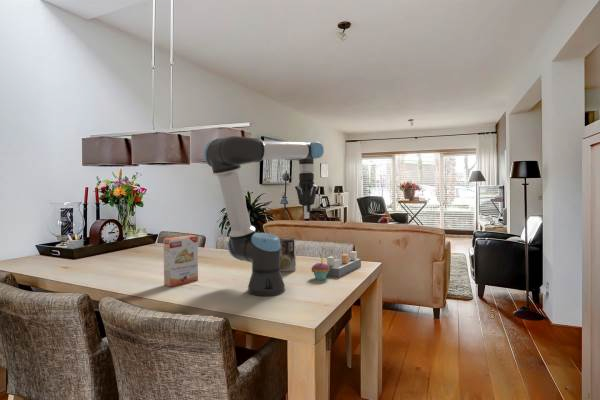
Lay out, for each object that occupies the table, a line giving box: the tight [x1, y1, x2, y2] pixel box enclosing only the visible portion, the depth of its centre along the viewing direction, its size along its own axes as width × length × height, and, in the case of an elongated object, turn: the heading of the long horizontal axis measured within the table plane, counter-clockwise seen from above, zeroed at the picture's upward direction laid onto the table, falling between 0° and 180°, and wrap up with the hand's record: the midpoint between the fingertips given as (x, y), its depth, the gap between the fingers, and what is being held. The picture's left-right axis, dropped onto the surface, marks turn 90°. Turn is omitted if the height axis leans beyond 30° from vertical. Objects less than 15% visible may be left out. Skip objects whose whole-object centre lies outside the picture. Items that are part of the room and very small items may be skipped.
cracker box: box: [163, 234, 199, 288], centre depth 157 cm, size 14×6×21 cm, turn 139°
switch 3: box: [349, 250, 358, 260], centre depth 184 cm, size 3×2×4 cm
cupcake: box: [311, 252, 330, 281], centre depth 163 cm, size 9×8×12 cm
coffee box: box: [279, 237, 297, 272], centre depth 179 cm, size 9×6×16 cm
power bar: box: [326, 257, 362, 278], centre depth 178 cm, size 26×9×4 cm, turn 147°
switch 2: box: [341, 253, 350, 263], centre depth 177 cm, size 3×2×4 cm
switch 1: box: [326, 256, 335, 266], centre depth 171 cm, size 3×2×4 cm
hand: (306, 218), depth 180 cm, fingers closed
